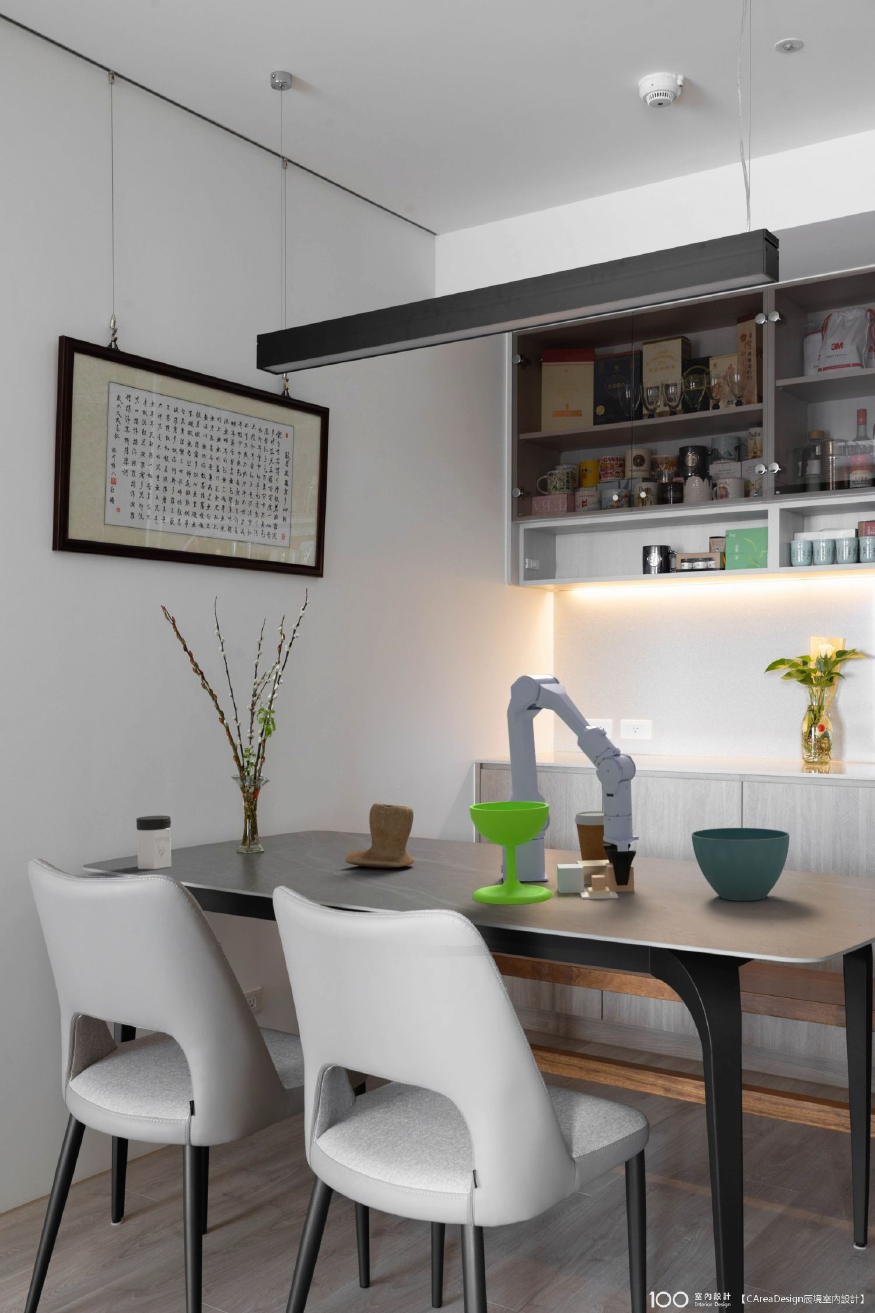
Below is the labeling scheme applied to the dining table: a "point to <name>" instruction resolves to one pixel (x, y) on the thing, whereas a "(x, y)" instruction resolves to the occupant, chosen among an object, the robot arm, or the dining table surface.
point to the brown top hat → (386, 838)
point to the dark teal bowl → (741, 860)
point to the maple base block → (593, 869)
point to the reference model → (598, 889)
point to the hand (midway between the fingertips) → (620, 882)
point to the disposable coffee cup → (591, 835)
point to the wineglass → (510, 846)
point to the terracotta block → (612, 882)
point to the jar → (153, 842)
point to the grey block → (570, 878)
